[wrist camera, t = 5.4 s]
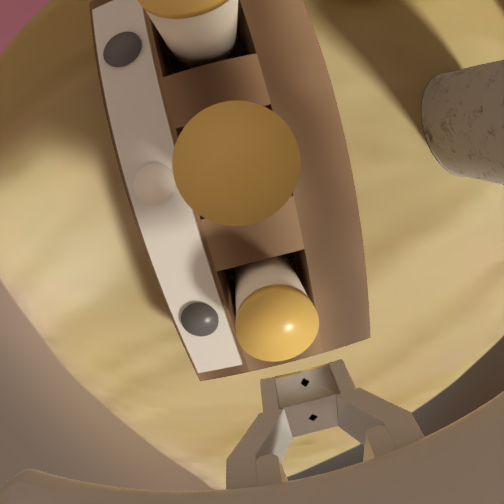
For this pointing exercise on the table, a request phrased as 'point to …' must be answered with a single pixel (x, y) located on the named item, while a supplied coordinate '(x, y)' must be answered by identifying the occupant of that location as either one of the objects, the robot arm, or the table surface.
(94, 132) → the table surface
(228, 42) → the button
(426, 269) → the table surface
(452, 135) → the grey concrete cylinder
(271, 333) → the button
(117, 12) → the strip
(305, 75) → the button board
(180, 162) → the middle button
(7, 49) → the table surface
